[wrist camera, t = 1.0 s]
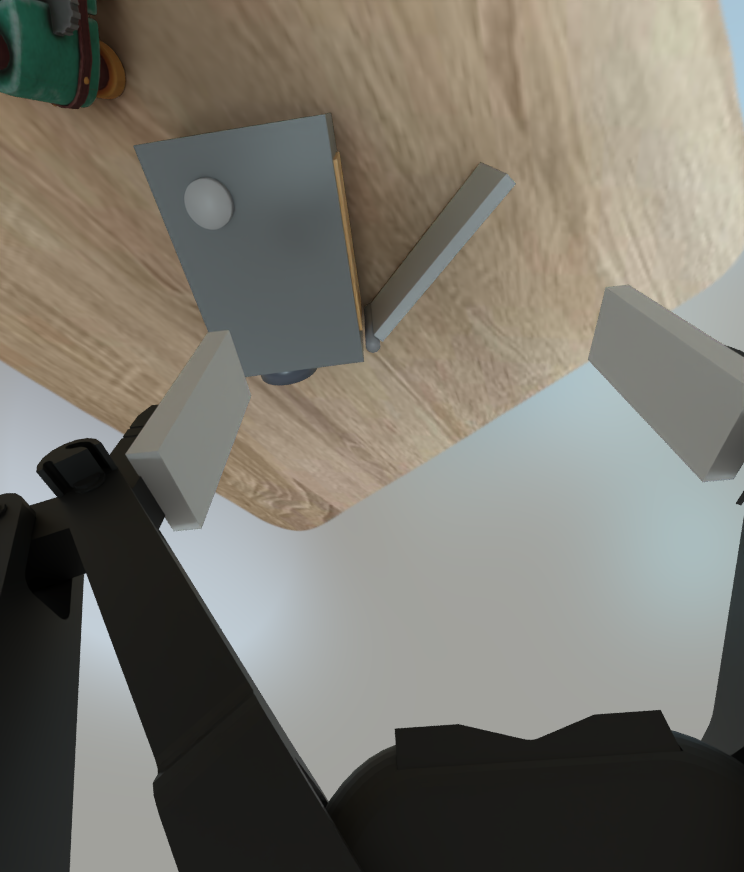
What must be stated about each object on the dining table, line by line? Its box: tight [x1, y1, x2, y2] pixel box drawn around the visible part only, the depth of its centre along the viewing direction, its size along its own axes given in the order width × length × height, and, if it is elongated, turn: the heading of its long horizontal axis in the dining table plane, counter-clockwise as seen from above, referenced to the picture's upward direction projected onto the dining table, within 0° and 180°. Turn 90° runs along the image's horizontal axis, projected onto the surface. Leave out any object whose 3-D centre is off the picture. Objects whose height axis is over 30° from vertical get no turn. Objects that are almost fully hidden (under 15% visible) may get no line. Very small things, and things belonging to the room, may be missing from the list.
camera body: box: [134, 113, 364, 385], centre depth 28 cm, size 16×10×8 cm, turn 7°
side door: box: [364, 162, 516, 353], centre depth 29 cm, size 13×2×7 cm, turn 142°
